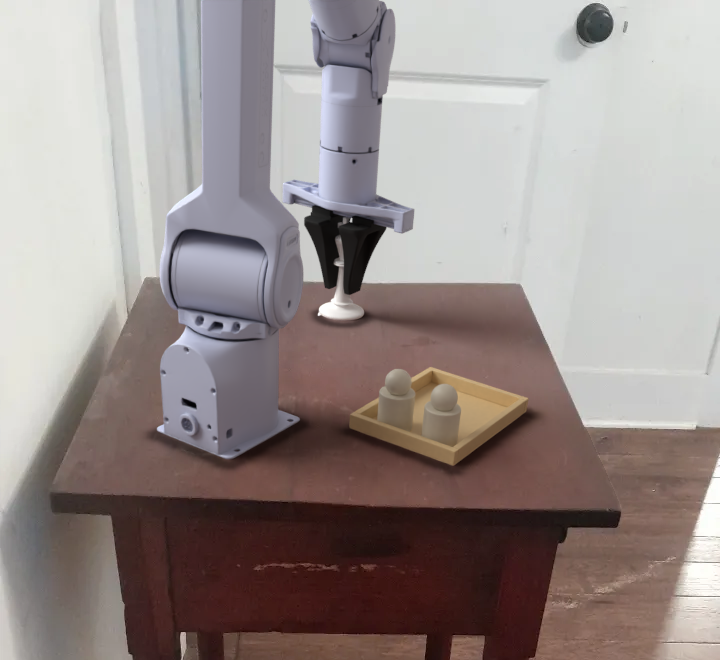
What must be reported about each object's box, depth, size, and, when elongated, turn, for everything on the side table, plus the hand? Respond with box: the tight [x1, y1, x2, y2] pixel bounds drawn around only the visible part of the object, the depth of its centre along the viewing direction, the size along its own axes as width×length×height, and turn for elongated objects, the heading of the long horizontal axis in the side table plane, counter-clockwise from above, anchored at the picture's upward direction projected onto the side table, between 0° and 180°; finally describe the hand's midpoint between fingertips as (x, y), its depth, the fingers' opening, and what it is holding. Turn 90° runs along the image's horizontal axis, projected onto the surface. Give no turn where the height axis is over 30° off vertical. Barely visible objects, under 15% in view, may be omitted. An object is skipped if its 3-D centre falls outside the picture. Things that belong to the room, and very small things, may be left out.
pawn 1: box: [377, 368, 415, 432], centre depth 82 cm, size 3×3×5 cm
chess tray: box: [348, 366, 530, 466], centre depth 85 cm, size 13×10×2 cm
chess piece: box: [317, 217, 365, 322], centre depth 101 cm, size 5×5×10 cm
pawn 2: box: [421, 384, 461, 447], centre depth 80 cm, size 3×3×5 cm
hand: (342, 289), depth 103 cm, fingers closed on chess piece
